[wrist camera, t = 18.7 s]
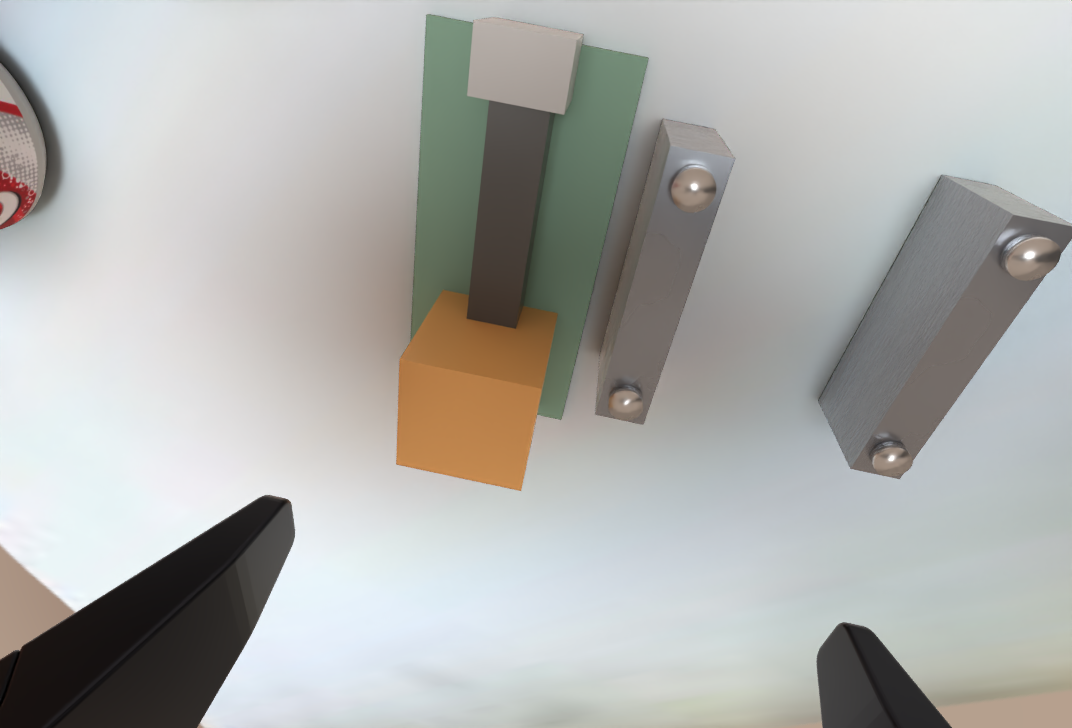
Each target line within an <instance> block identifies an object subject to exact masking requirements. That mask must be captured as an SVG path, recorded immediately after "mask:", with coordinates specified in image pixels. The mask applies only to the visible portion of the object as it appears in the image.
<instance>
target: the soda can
mask: <svg viewBox="0 0 1072 728" xmlns="http://www.w3.org/2000/svg"><path fill="white" fill-rule="evenodd" d="M45 174H46V148H45V142H44V138H43V134H42V130H41V127H40V124H39V122H38V119H37V117H36V115H35V112H34V110H33V108H32V107H31V105H30V103H29V101H28V99H27V98H26V96H25V94H24V93H23V91H22V89H21V88H20V86H19V85H18V84H17V82H16V81H15V79H14V78H13V77H12V76H11V74H10V73H9V72H8V71H7V69H6V68H5V67H4V66H3V65H2V64H1V63H0V229H3V228H5V227H8V226H10V225H13V224H15V223H17V222H18V221H20V220H22V219H23V218H25V217H26V216H27V215H28V214H29V213H30V212H31V211H32V210H33V209H34V207H35V206H36V204H37V202H38V201H39V198H40V196H41V193H42V190H43V185H44V178H45Z"/></svg>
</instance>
